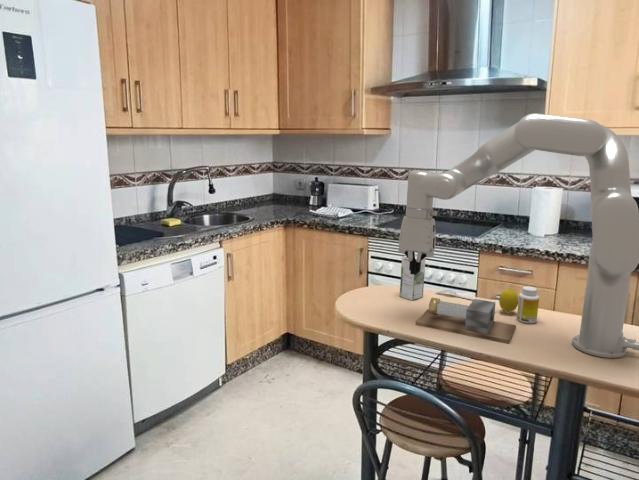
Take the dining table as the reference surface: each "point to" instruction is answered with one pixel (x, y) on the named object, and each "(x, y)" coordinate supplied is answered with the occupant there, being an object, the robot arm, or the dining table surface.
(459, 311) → the shaft
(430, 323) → the bearing stand
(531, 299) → the supplement bottle
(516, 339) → the dining table surface
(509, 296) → the lemon
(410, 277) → the syrup box
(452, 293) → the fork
